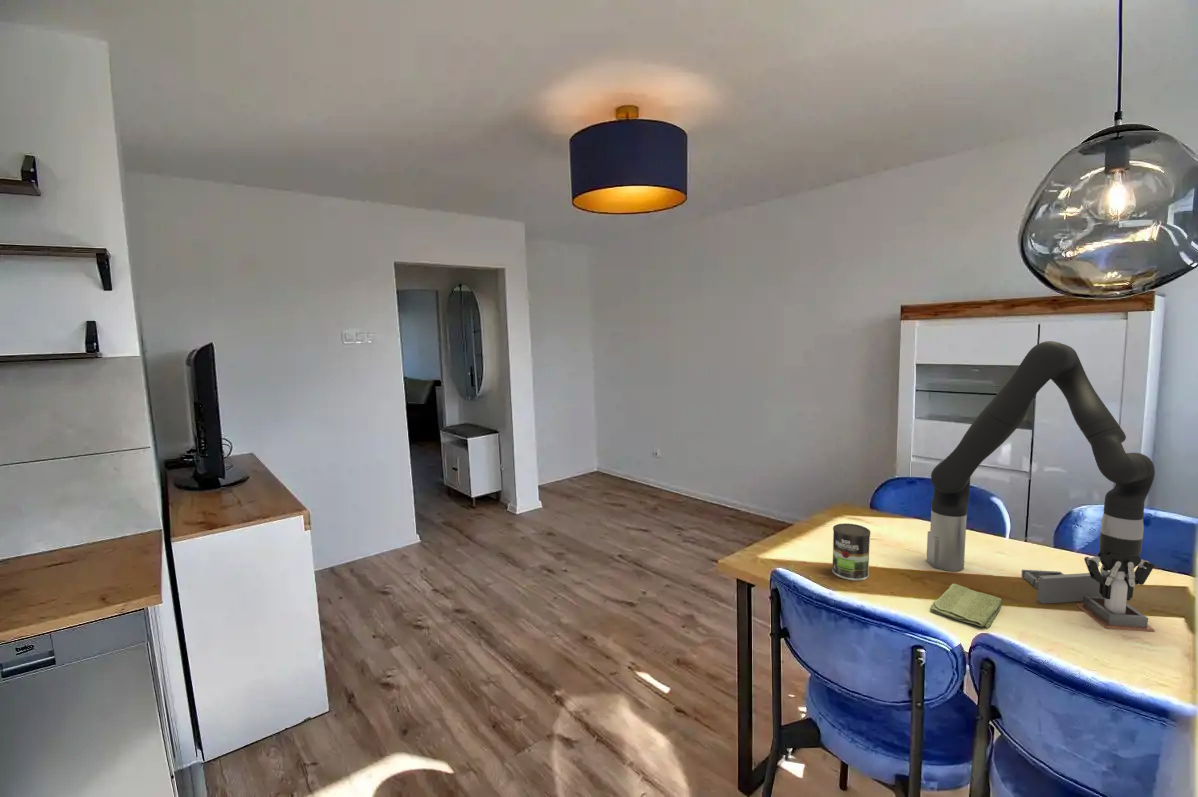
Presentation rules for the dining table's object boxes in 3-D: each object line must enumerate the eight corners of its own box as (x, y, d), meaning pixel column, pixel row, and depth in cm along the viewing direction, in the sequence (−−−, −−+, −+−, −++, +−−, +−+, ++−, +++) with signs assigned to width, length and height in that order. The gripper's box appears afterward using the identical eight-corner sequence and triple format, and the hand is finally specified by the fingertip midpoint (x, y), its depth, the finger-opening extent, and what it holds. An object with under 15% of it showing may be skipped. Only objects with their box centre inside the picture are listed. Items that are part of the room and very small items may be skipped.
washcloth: (927, 613, 142) (928, 602, 141) (950, 590, 153) (950, 580, 153) (986, 633, 132) (987, 621, 131) (1006, 607, 143) (1007, 596, 143)
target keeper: (1105, 628, 131) (1106, 616, 131) (1076, 605, 142) (1077, 594, 142) (1154, 631, 129) (1155, 619, 129) (1121, 608, 140) (1122, 597, 139)
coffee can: (862, 584, 158) (864, 538, 156) (827, 574, 165) (827, 530, 163) (873, 571, 165) (875, 528, 163) (839, 562, 172) (839, 520, 170)
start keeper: (1036, 588, 151) (1036, 581, 151) (1021, 575, 159) (1021, 569, 159) (1077, 591, 149) (1077, 584, 149) (1059, 578, 157) (1060, 571, 157)
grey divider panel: (1042, 603, 144) (1044, 578, 143) (1037, 600, 145) (1039, 576, 144) (1120, 598, 145) (1122, 573, 144) (1114, 595, 146) (1116, 571, 145)
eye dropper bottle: (1099, 610, 136) (1103, 565, 134) (1105, 602, 139) (1109, 558, 137) (1123, 617, 132) (1128, 571, 130) (1129, 609, 135) (1133, 564, 134)
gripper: (1143, 528, 135) (1137, 592, 137) (1078, 526, 138) (1072, 589, 140) (1168, 540, 128) (1160, 608, 130) (1098, 537, 131) (1092, 603, 133)
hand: (1115, 597), depth 135 cm, fingers closed on eye dropper bottle, 3 cm apart
